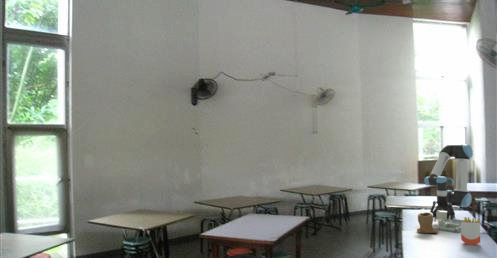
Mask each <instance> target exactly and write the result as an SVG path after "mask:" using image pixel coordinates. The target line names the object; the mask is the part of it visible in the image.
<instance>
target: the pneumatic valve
mask: <svg viewBox="0 0 497 258" xmlns="http://www.w3.org/2000/svg"><path fill="white" fill-rule="evenodd" d="M449 216H450V214H449V213H448V211H442V210H441V211H439V210H436V212H434V217H435V218H436V220H438V221H437V223H438V225H439V226H442V225H444V224H447V223H446V221H447V220H448V221H449Z"/></svg>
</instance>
